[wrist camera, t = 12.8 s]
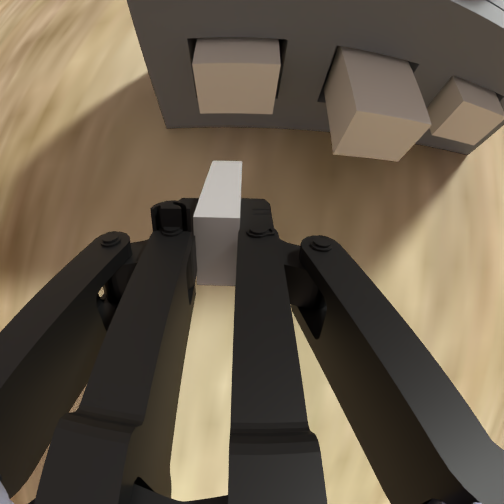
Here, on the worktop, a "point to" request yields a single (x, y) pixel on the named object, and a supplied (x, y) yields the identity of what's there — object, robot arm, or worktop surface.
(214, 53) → the button
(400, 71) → the button
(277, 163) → the worktop surface
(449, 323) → the worktop surface
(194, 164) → the worktop surface
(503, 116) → the button
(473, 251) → the worktop surface
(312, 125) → the console
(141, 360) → the robot arm
